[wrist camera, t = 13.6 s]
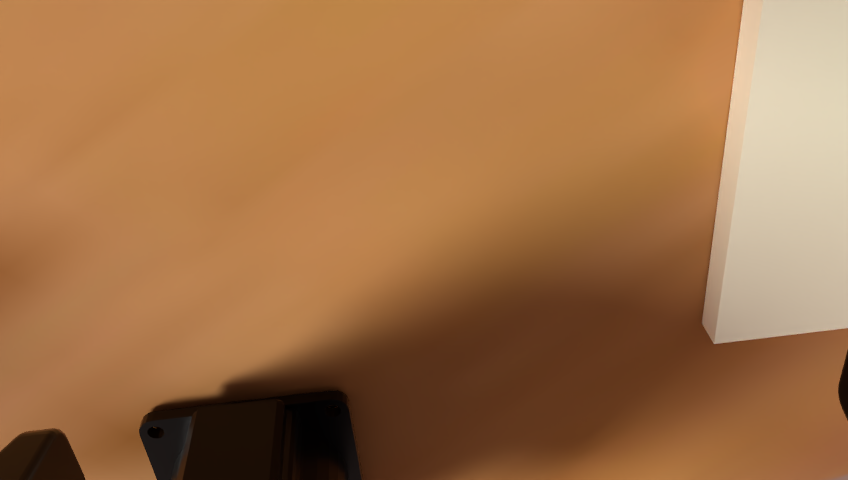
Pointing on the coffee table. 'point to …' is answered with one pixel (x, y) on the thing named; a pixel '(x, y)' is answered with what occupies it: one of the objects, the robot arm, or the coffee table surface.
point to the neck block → (783, 177)
